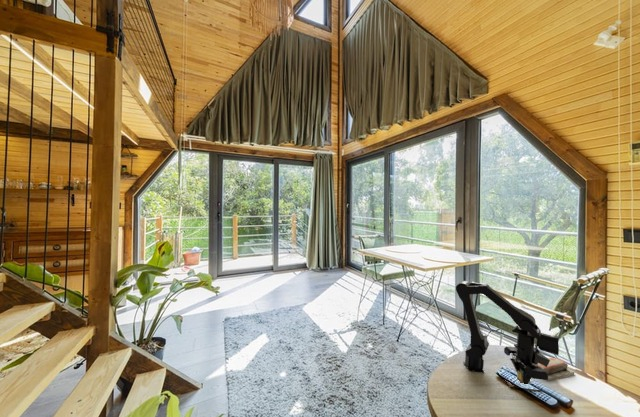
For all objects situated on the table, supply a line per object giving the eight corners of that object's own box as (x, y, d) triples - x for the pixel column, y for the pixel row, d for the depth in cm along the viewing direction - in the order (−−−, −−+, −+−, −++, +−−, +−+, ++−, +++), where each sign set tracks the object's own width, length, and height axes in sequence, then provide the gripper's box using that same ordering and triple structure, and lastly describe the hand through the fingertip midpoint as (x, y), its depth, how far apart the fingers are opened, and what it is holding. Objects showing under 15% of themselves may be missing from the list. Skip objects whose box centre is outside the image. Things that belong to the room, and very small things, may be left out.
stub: (509, 387, 109) (510, 373, 109) (505, 382, 112) (506, 369, 111) (541, 390, 108) (541, 376, 107) (536, 386, 110) (537, 372, 110)
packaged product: (548, 371, 114) (524, 358, 123) (547, 382, 114) (523, 368, 123) (575, 364, 119) (550, 353, 129) (574, 375, 119) (550, 362, 129)
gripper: (564, 360, 99) (562, 400, 99) (530, 335, 118) (528, 370, 118) (533, 357, 100) (531, 397, 101) (504, 333, 119) (502, 367, 119)
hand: (523, 382), depth 110 cm, fingers closed on stub, 2 cm apart
